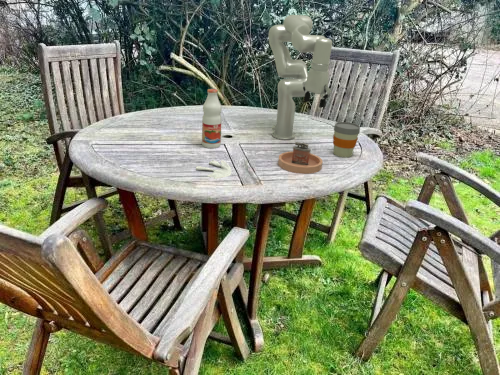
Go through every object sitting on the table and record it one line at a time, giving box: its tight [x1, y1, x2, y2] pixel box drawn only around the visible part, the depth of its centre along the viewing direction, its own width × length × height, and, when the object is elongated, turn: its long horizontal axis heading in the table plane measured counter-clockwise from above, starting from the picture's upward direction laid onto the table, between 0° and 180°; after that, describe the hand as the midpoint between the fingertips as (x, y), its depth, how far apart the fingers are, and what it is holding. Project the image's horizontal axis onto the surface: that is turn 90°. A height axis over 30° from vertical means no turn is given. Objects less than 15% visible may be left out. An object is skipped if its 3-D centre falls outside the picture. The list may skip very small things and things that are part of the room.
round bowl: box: [277, 150, 324, 175], centre depth 187 cm, size 20×20×3 cm
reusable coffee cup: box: [332, 121, 361, 158], centre depth 202 cm, size 13×12×15 cm
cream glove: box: [195, 159, 232, 180], centre depth 178 cm, size 20×22×2 cm
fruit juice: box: [201, 88, 223, 149], centre depth 199 cm, size 9×9×28 cm
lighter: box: [291, 141, 311, 165], centre depth 186 cm, size 8×3×10 cm, turn 72°
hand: (314, 104), depth 191 cm, fingers open, 9 cm apart
